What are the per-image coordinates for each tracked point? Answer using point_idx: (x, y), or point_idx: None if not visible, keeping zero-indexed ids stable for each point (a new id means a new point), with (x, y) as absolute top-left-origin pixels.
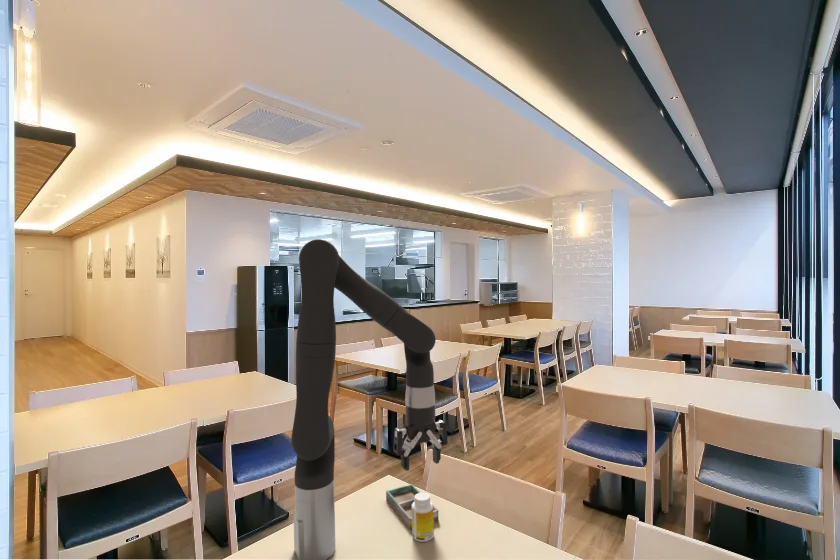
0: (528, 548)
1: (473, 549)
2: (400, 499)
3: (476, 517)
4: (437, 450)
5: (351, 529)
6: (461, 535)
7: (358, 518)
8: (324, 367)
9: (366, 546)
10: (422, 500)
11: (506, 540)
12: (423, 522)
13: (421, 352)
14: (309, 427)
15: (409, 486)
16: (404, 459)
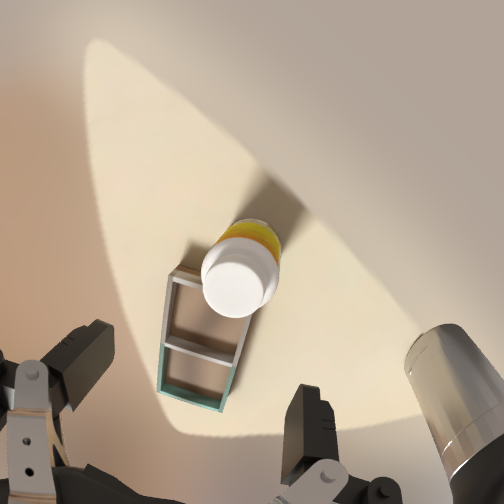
0: (108, 59)
1: (192, 120)
2: (206, 378)
3: (103, 209)
4: (60, 366)
5: (352, 371)
6: (174, 180)
7: None
8: None
9: (374, 309)
10: (251, 270)
11: (116, 101)
12: (265, 237)
13: None
14: None
15: (165, 390)
16: (328, 447)
